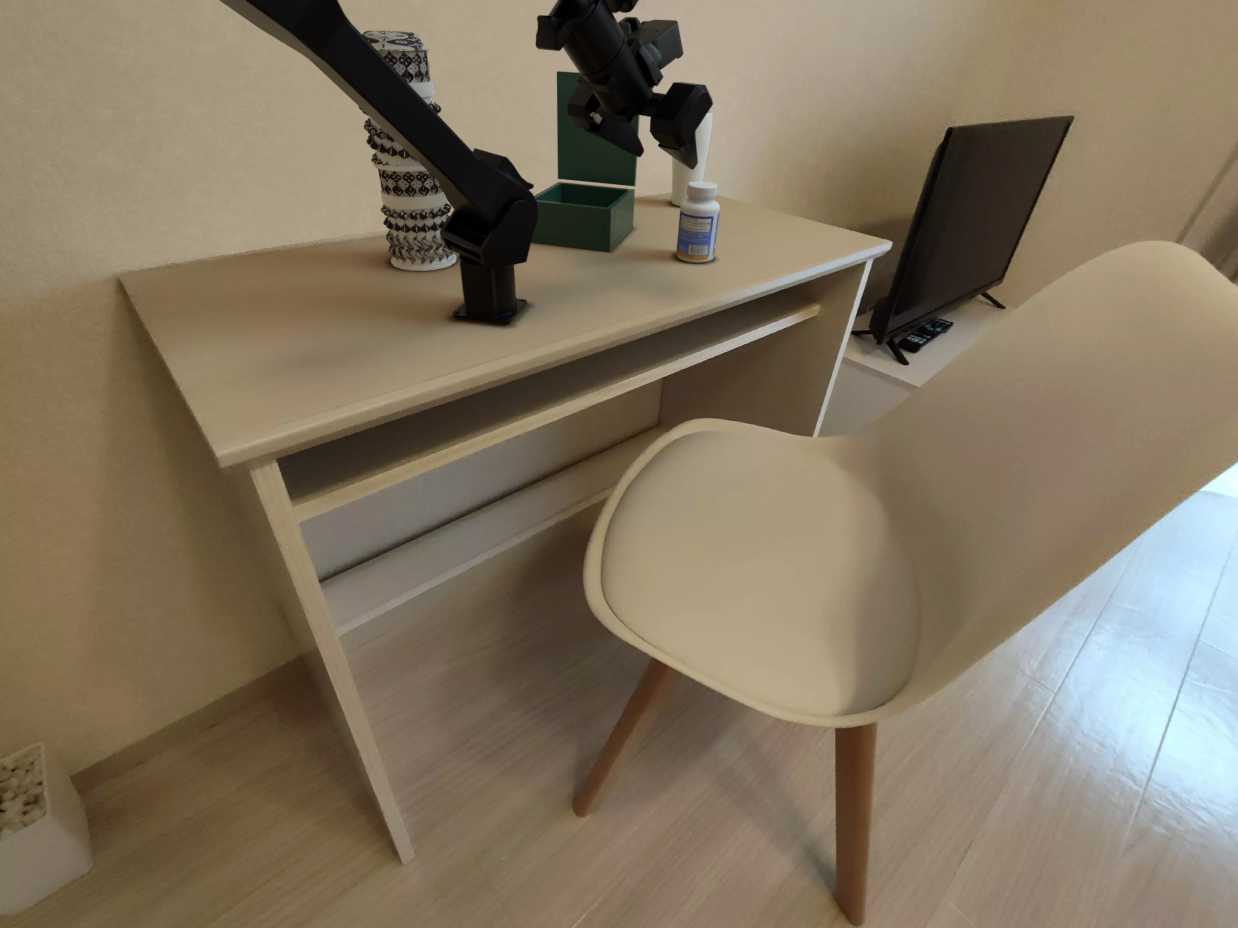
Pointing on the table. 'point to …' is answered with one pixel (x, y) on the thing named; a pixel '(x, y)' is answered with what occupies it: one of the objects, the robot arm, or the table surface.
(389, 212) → the black and white cylinder
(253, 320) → the table surface
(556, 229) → the green open box
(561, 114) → the green box lid
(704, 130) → the white tumbler
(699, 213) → the pill bottle
